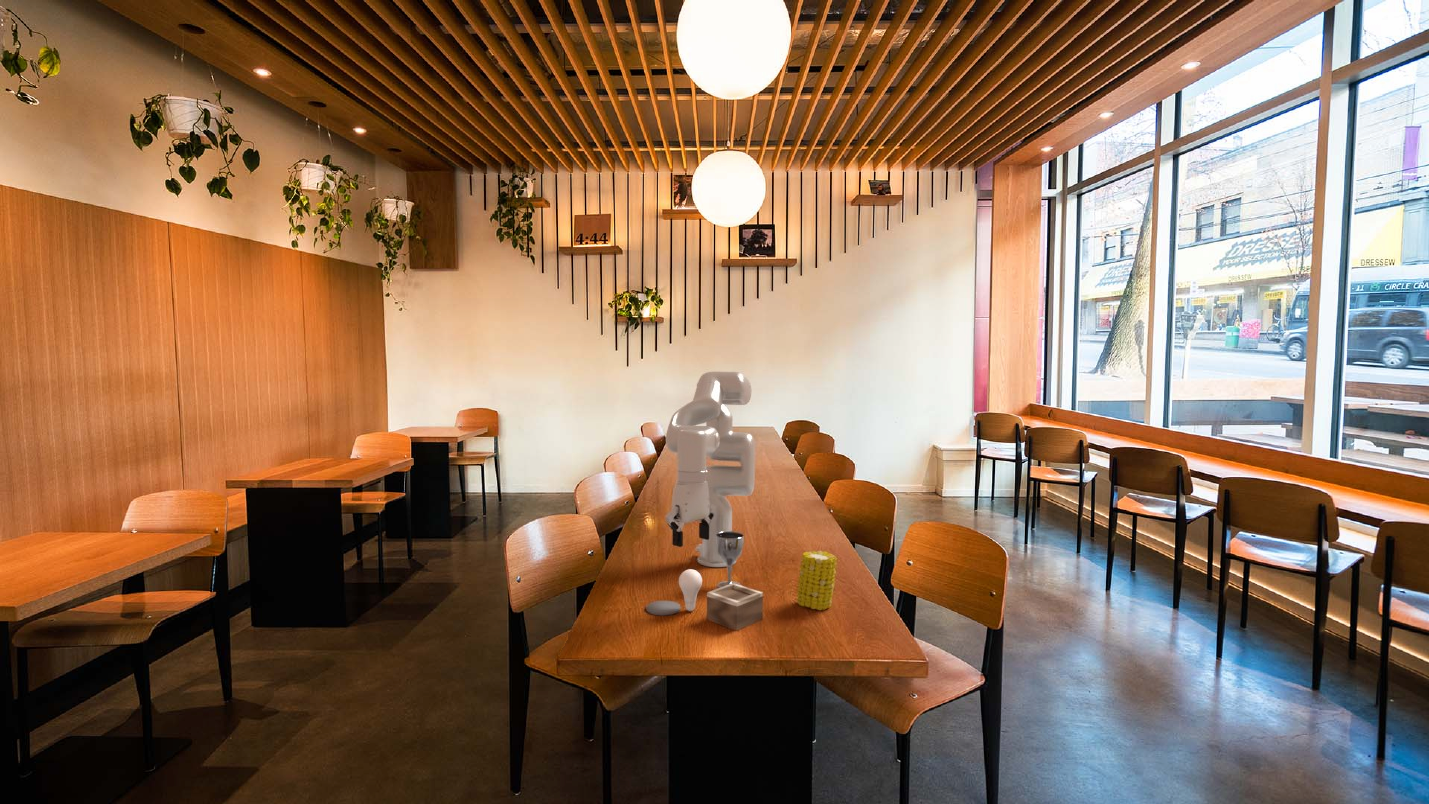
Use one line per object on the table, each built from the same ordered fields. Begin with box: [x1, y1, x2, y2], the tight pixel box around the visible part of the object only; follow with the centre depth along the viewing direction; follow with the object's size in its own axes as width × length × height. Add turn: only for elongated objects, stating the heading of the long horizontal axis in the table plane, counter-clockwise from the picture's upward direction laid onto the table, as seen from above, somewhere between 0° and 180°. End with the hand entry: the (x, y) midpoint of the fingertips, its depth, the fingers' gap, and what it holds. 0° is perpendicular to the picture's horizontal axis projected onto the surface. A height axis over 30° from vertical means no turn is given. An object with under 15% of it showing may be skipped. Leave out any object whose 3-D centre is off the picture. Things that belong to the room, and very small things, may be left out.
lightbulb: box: [678, 568, 703, 612], centre depth 173 cm, size 6×6×11 cm
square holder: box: [706, 583, 764, 632], centre depth 168 cm, size 10×10×7 cm
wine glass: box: [716, 530, 745, 588], centre depth 193 cm, size 8×8×15 cm
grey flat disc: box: [645, 600, 681, 617], centre depth 175 cm, size 9×9×1 cm
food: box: [796, 550, 838, 611], centre depth 179 cm, size 15×12×10 cm
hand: (691, 542), depth 173 cm, fingers open, 9 cm apart
